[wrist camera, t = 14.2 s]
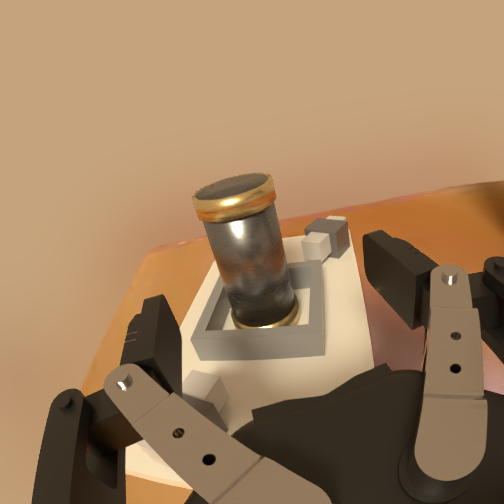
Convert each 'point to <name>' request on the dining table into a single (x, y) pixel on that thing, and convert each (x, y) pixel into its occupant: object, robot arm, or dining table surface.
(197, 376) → the stand
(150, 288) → the dining table surface
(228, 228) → the cylinder
